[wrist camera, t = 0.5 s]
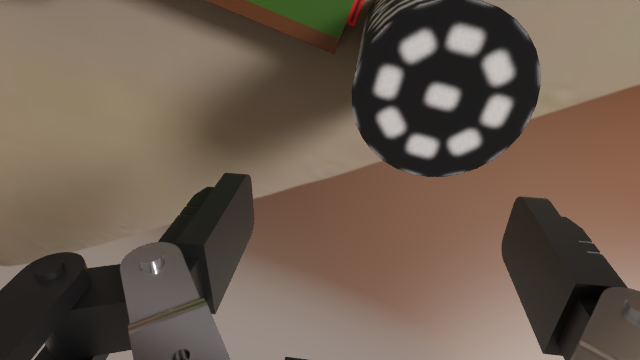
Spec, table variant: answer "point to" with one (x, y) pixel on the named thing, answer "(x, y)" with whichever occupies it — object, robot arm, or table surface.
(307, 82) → the table surface
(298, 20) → the hardcover book
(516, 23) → the white-spotted black cylinder
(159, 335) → the robot arm
